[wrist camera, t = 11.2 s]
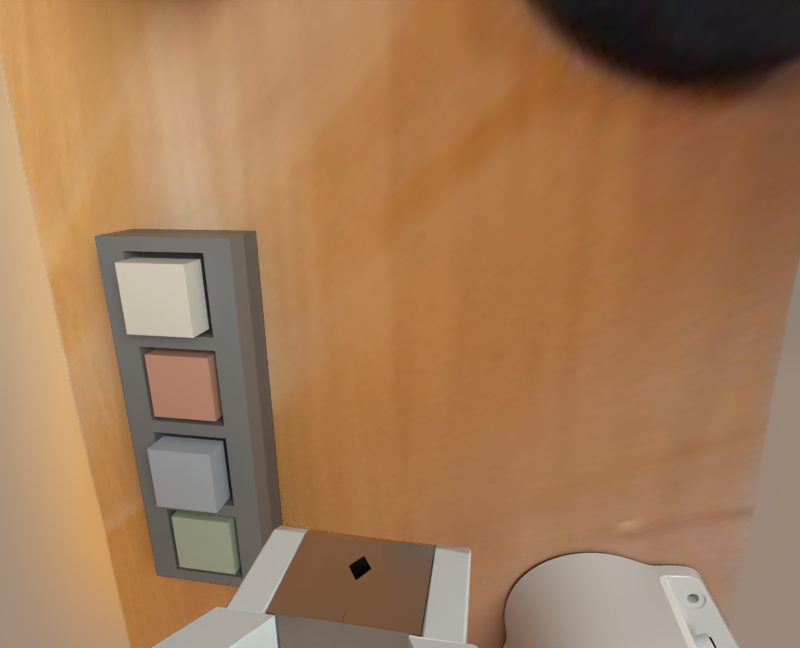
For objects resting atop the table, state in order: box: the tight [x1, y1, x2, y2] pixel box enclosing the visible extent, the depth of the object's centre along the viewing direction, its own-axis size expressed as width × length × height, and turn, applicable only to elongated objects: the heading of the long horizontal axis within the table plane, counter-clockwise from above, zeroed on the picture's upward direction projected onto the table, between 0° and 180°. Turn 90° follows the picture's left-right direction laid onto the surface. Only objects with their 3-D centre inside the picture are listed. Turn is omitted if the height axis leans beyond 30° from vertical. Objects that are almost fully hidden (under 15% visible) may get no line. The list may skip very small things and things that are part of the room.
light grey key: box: [147, 436, 230, 513], centre depth 39 cm, size 5×5×2 cm
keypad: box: [95, 229, 283, 587], centre depth 41 cm, size 29×10×4 cm, turn 0°
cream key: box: [115, 257, 209, 338], centre depth 35 cm, size 5×5×2 cm
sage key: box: [171, 510, 241, 574], centre depth 43 cm, size 5×5×2 cm
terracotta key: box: [144, 348, 223, 421], centre depth 39 cm, size 5×5×2 cm
